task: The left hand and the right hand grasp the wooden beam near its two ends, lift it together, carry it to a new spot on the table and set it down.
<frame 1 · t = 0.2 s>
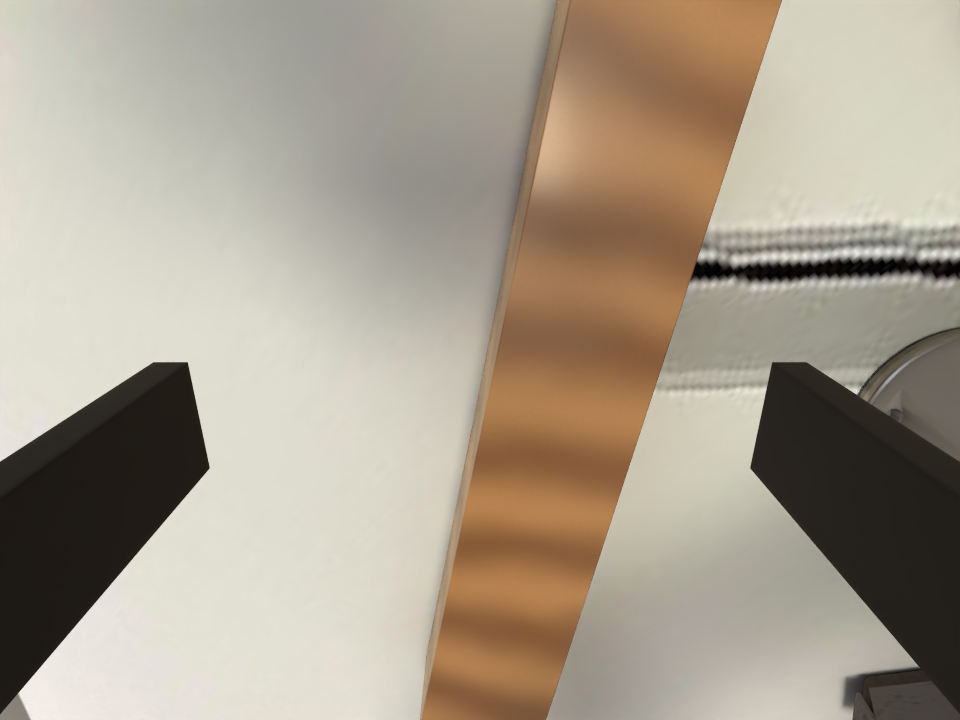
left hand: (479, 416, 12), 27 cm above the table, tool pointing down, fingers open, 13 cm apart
wooden beam: (540, 411, 42), on the table
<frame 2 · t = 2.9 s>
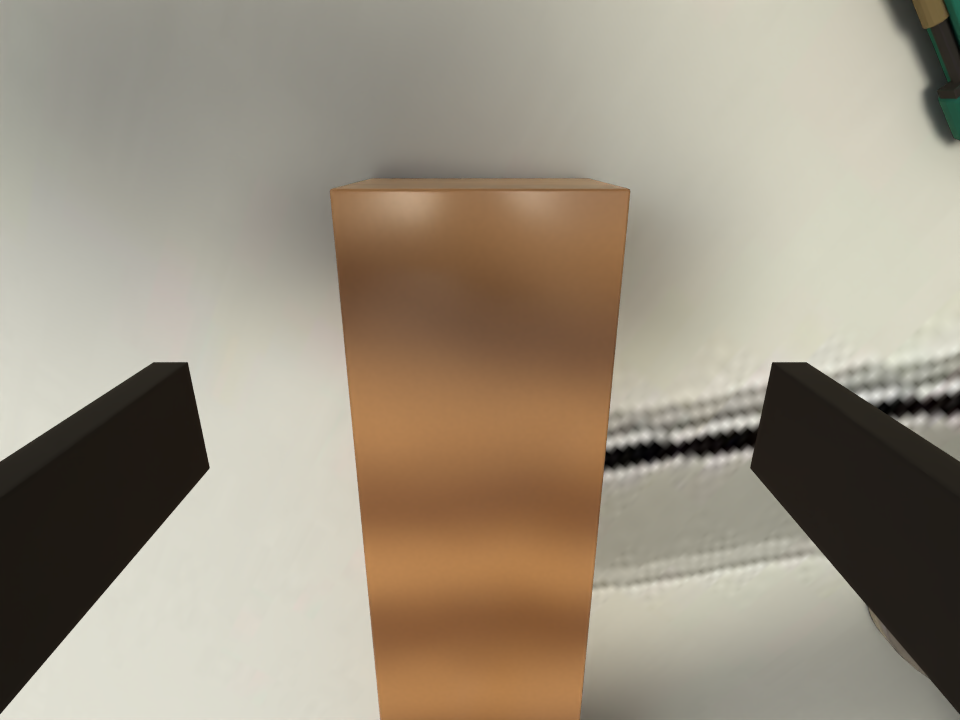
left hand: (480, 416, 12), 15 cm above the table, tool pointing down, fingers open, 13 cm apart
wooden beam: (480, 629, 35), on the table, touching right hand
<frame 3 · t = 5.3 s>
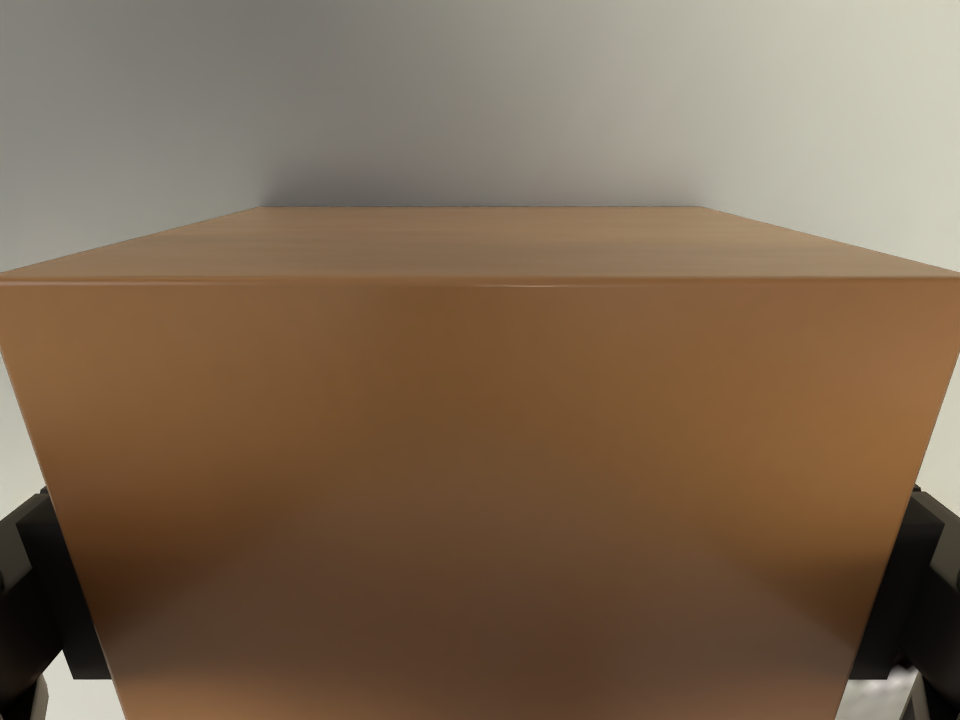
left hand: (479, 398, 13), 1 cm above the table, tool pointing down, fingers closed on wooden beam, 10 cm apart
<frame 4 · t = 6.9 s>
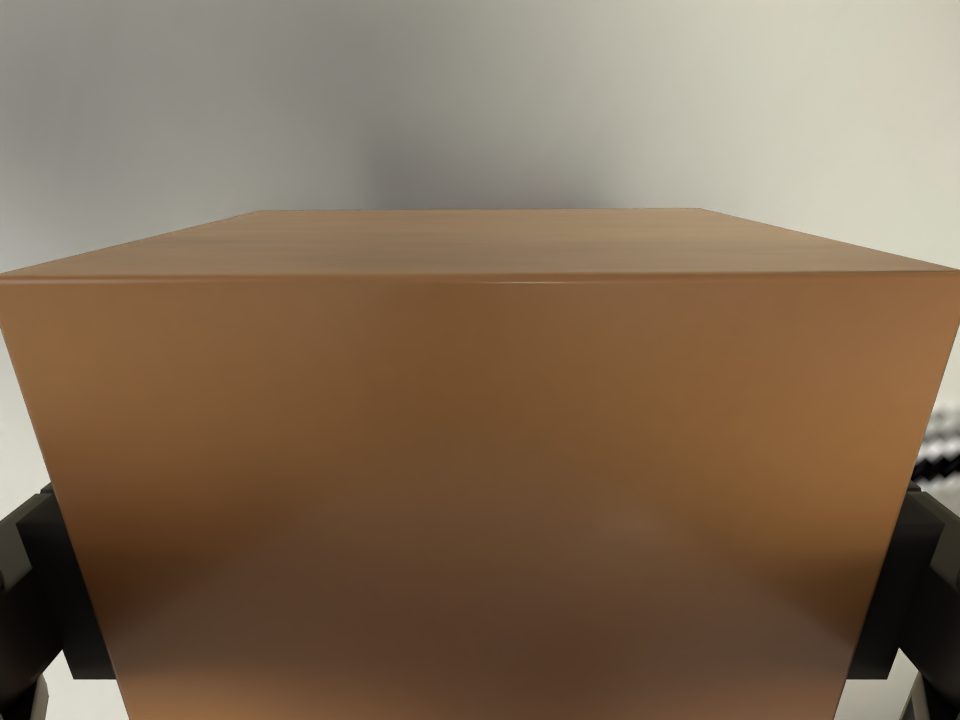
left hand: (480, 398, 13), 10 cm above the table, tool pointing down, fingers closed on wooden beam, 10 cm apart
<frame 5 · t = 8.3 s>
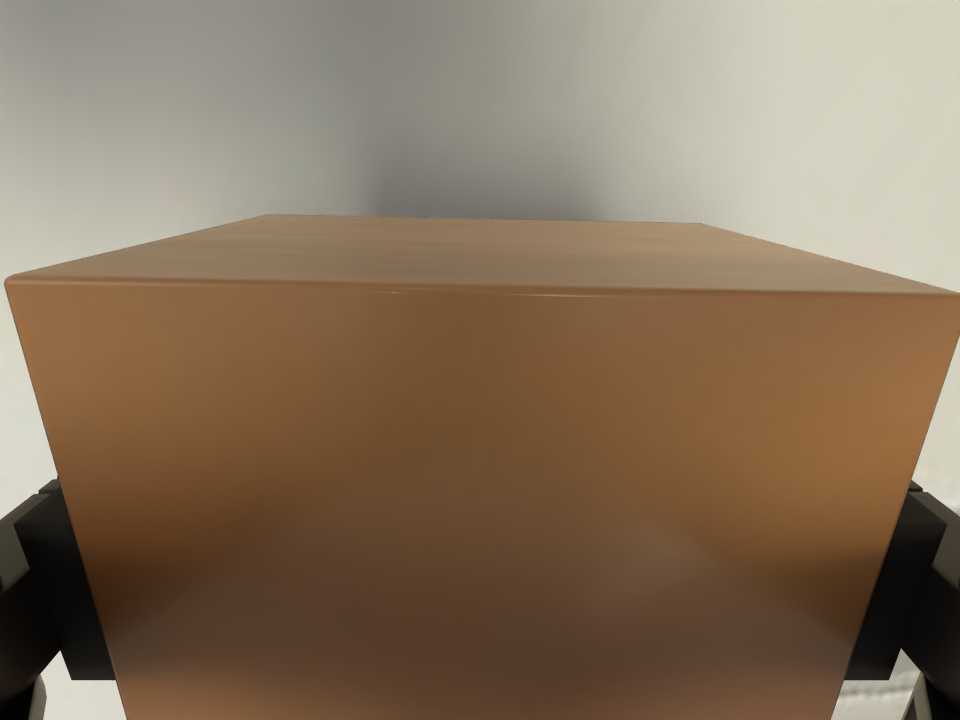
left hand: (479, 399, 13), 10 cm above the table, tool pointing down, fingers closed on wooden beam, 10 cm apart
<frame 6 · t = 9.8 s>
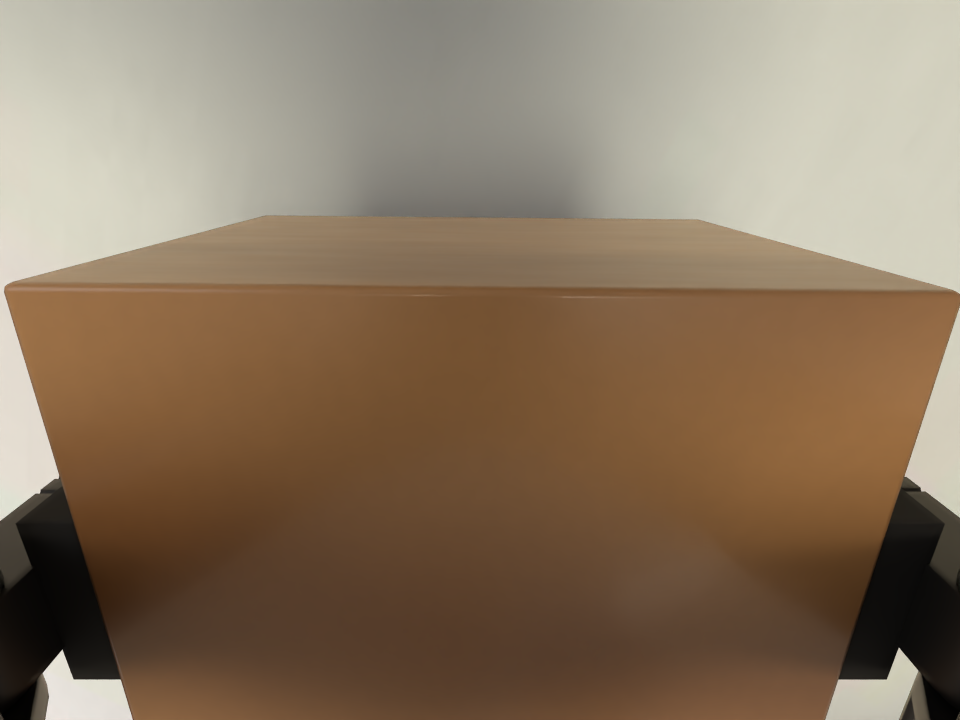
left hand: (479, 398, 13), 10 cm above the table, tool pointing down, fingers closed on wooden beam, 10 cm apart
when the left hand's fingers open (2 cm above the table, at t = 11.3 s): wooden beam drops 1 cm, on the table.
when the right hand's fingers open (2 cm above the table, at t = 11.3 s): wooden beam drops 1 cm, on the table.
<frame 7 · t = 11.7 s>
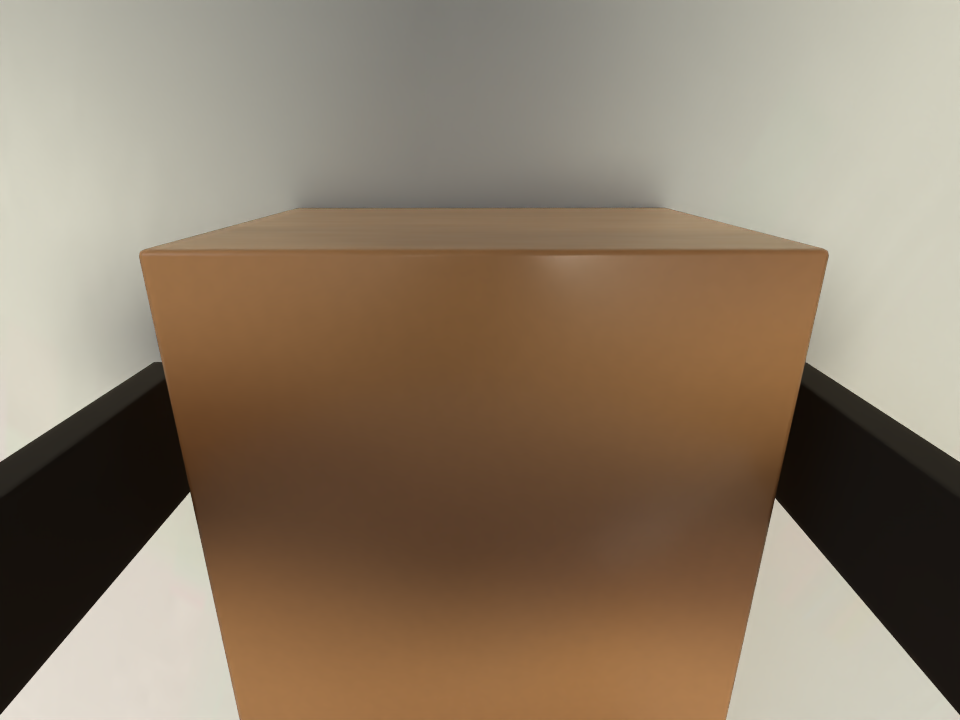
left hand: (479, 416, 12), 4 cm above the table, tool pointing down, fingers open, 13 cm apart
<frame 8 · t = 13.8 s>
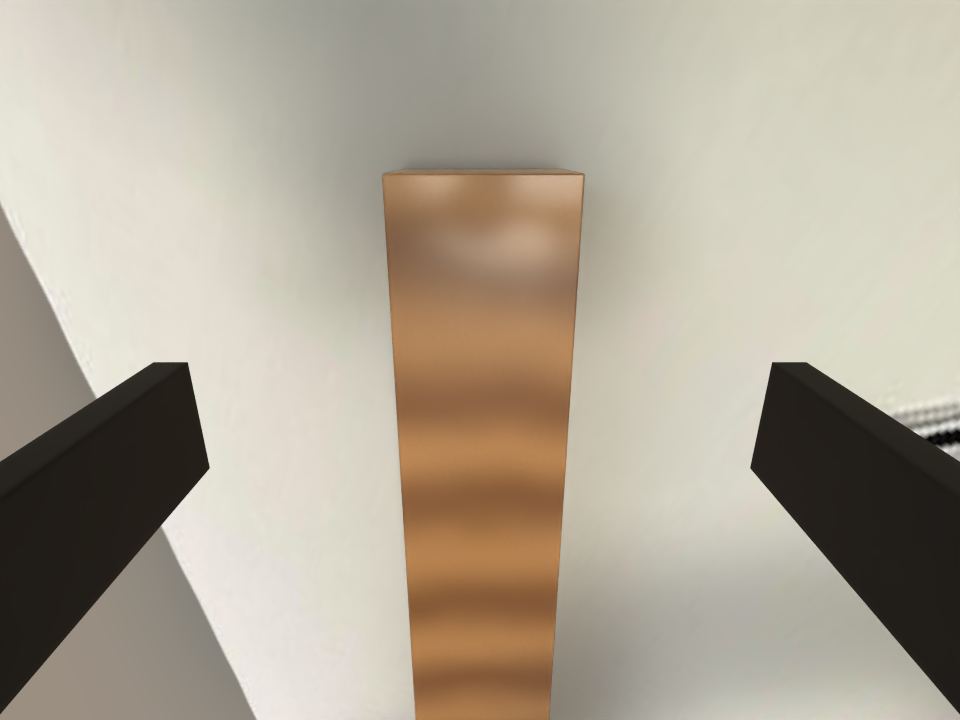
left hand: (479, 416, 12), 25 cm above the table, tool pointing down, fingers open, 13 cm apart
wooden beam: (482, 531, 44), on the table
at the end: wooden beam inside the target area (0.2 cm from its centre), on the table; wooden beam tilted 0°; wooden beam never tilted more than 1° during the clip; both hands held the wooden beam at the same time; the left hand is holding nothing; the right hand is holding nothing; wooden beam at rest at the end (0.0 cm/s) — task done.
